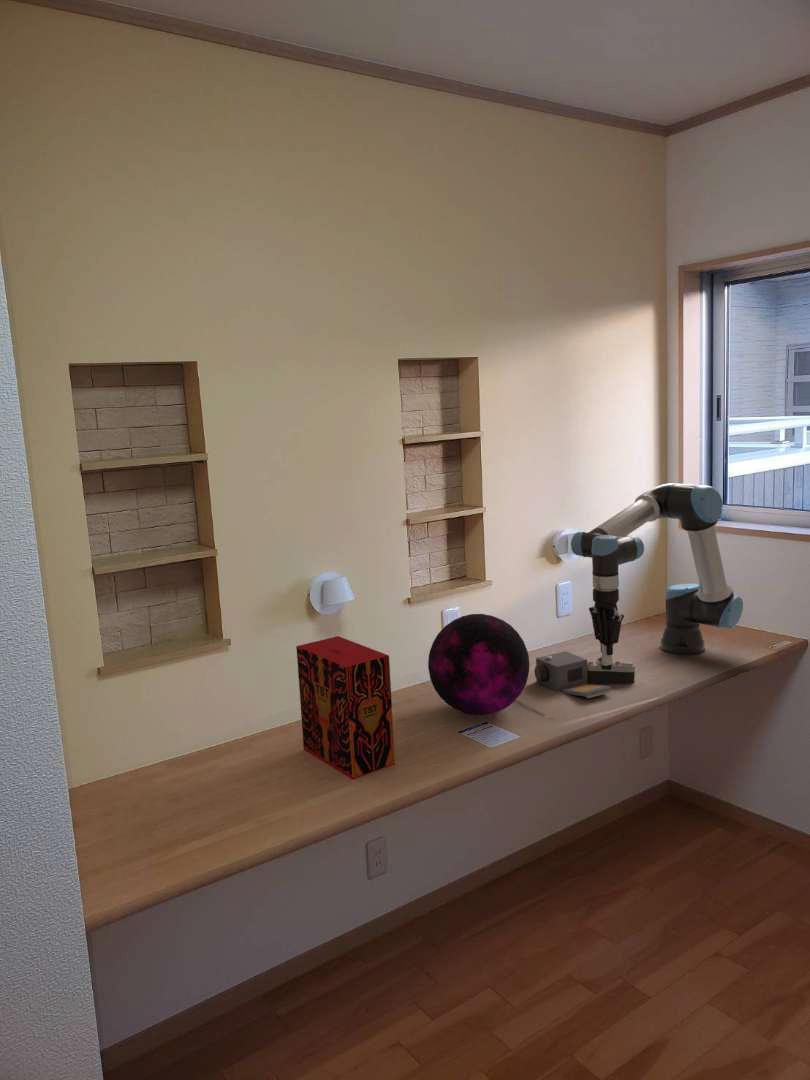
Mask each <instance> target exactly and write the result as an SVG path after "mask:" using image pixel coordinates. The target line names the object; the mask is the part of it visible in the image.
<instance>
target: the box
mask: <svg viewBox="0 0 810 1080" xmlns="http://www.w3.org/2000/svg"><path fill="white" fill-rule="evenodd" d="M295 648H296V660H297V672H298V673H297V674H298V676H297V677H298V686H299V688H298V689H299V701H300V715H301V716H300V717H301V718H300V719H301V729H302V730H301V731H302V740H303V741H302V744H303V745H302V746H303V751H305V752H306V753H308V754H310V755H312V756H313V757H314V758H316V759H318V760H319V761H321V762H322V763H325V764H326V765H328V766H329V767H330V768H332V769H334V770H336V771H338V772H339V773H341V774H342V775H344V776H346V777H347V778H349V779H350V780H356V779H359V778H361V777H364V776H367V775H370V774H372V773H375V772H377V771H381V770H384V769H387V768H389V767H392V766H394V765H396V763H395V762H396V761H395V743H394V741H395V740H394V724H393V723H394V722H393V705H392V702H393V701H392V686H391V685H392V683H391V682H392V681H391V668H390V667H391V665H390V664H391V663H390V655H388V654H386V653H384V652H380V651H379V650H375V649H374V648H370V647H368V646H365V645H363V644H360V643H358V642H355V641H352V640H350V639H347V638H344V637H341V636H339V635H336V636H333V637H328V638H324V639H320V640H317V641H312V642H307V643H305V644H304V643H303V644H300V645H296V647H295Z"/></svg>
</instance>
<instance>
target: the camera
mask: <svg viewBox="0 0 810 1080" xmlns="http://www.w3.org/2000/svg"><path fill="white" fill-rule="evenodd" d="M635 668H636V665H635V664H634V662H632V661H626V662H621V661H614V659H612V664H611V665H607V666H604V665H602V656H601V657H598V658H596V660H595V662H594V660H587V684H595V685H633V684H634V683H635V677H636V676H635V673H636V671H635Z"/></svg>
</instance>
